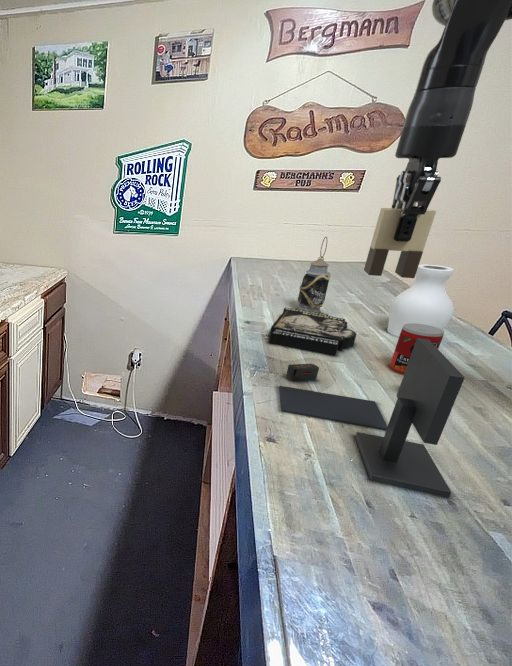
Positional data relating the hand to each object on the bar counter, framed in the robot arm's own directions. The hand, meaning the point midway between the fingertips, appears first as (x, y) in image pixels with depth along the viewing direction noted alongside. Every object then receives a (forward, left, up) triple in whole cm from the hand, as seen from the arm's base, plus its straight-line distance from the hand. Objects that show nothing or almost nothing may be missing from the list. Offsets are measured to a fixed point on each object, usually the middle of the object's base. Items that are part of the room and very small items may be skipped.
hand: (398, 239), depth 77 cm
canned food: (-18, -33, -35) cm, 52 cm away
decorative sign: (+1, -52, -35) cm, 63 cm away
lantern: (0, -79, -35) cm, 87 cm away
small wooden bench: (0, 0, -6) cm, 6 cm away
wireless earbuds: (+6, -19, -35) cm, 40 cm away
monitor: (-6, +14, -35) cm, 38 cm away
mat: (+2, -4, -35) cm, 35 cm away
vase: (-26, -65, -35) cm, 79 cm away
